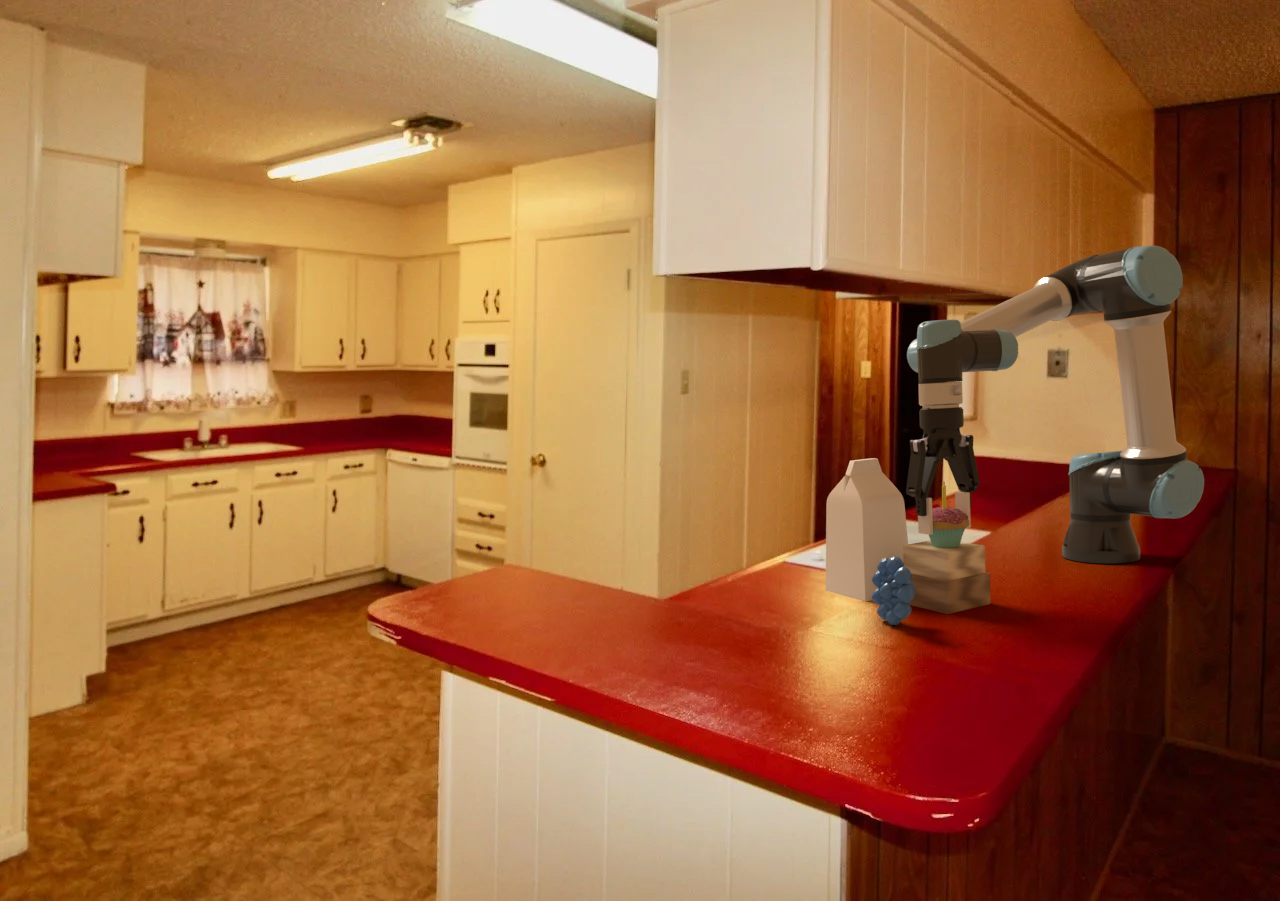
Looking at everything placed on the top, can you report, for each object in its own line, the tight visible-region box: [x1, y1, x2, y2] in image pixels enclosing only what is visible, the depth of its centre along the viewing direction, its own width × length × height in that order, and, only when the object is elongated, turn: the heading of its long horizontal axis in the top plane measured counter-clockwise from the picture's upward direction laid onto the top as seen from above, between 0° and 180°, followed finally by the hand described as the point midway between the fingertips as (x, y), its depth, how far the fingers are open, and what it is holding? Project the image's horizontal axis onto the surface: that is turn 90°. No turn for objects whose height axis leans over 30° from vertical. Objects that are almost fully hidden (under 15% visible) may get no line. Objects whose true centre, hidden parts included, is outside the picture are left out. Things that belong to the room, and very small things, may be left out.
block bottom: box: [908, 571, 991, 615], centre depth 162 cm, size 11×11×6 cm
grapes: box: [871, 556, 915, 626], centre depth 149 cm, size 12×7×12 cm, turn 14°
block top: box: [903, 539, 986, 581], centre depth 162 cm, size 10×10×5 cm
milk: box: [825, 457, 909, 602], centre depth 173 cm, size 12×12×26 cm
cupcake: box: [928, 481, 969, 548], centre depth 161 cm, size 9×8×12 cm
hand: (944, 530), depth 161 cm, fingers open, 9 cm apart
